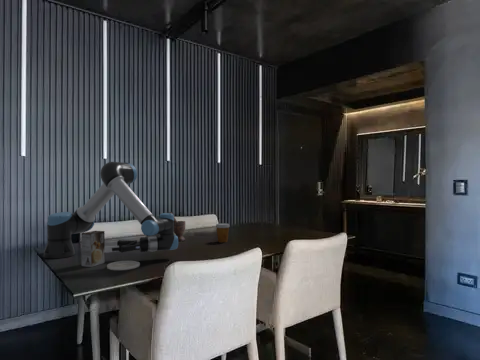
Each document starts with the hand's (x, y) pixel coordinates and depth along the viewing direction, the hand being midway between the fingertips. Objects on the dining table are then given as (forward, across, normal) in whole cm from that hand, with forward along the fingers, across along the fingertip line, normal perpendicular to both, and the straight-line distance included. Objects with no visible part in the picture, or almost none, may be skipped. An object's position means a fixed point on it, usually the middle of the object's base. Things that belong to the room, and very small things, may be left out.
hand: (104, 247), depth 172 cm
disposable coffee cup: (-76, +37, -8) cm, 85 cm away
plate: (-9, -9, -8) cm, 15 cm away
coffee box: (+5, +1, -8) cm, 10 cm away
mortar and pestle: (-48, +52, -8) cm, 71 cm away
